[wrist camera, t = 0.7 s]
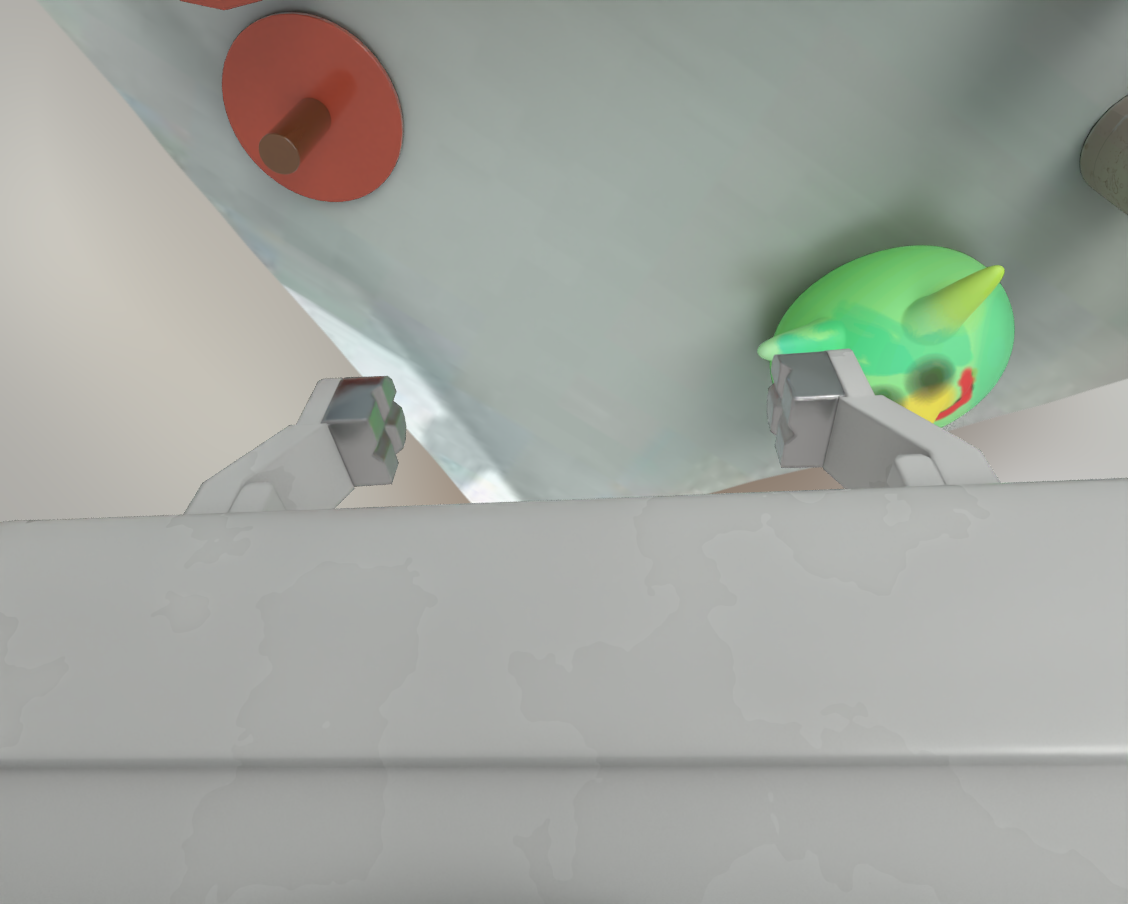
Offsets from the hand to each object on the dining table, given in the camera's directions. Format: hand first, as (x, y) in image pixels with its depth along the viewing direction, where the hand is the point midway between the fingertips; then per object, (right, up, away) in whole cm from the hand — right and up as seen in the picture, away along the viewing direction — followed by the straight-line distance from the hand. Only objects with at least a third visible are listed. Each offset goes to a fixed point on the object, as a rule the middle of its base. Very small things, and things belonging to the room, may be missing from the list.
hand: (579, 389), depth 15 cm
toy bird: (+26, +12, +45) cm, 53 cm away
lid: (-19, +23, +35) cm, 46 cm away
